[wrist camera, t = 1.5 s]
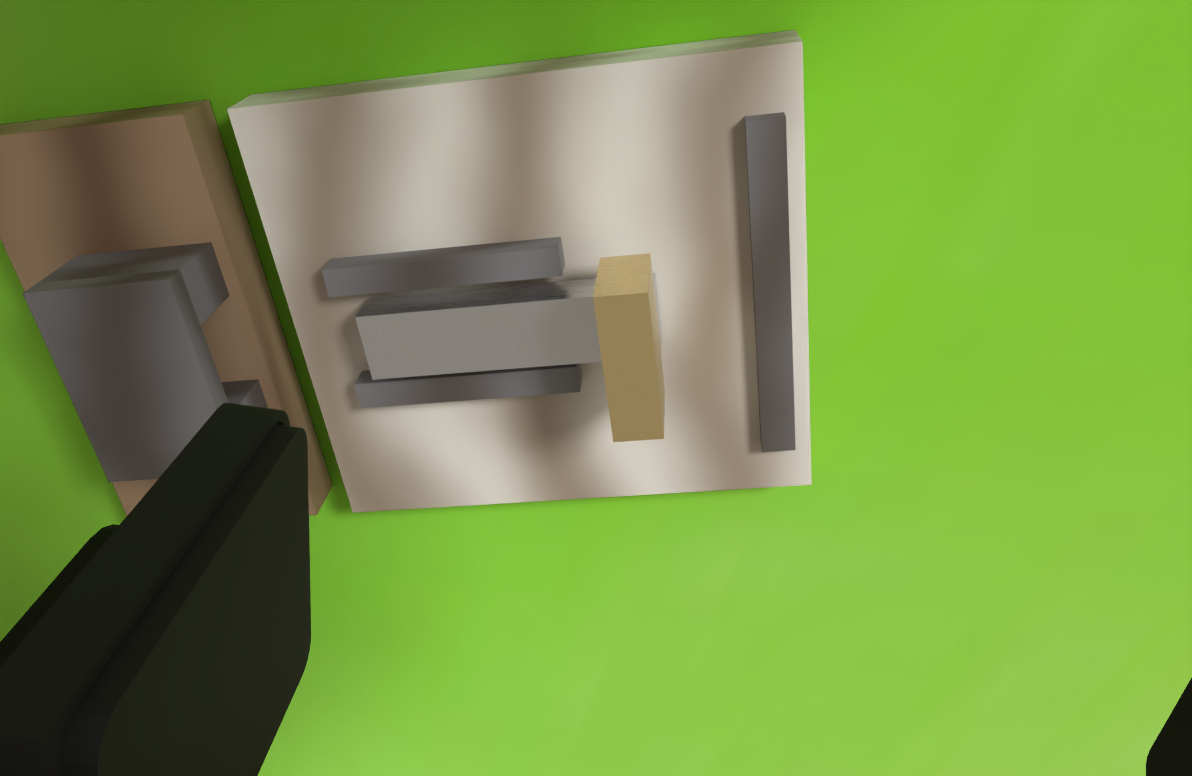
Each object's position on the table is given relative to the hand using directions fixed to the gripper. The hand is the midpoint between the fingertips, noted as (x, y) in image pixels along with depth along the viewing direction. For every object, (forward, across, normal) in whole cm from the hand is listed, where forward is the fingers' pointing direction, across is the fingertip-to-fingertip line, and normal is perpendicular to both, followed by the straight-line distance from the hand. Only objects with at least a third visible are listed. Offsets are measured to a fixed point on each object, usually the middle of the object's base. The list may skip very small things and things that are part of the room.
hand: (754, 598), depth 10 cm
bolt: (+23, +5, +8) cm, 24 cm away
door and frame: (+25, +9, +9) cm, 28 cm away
